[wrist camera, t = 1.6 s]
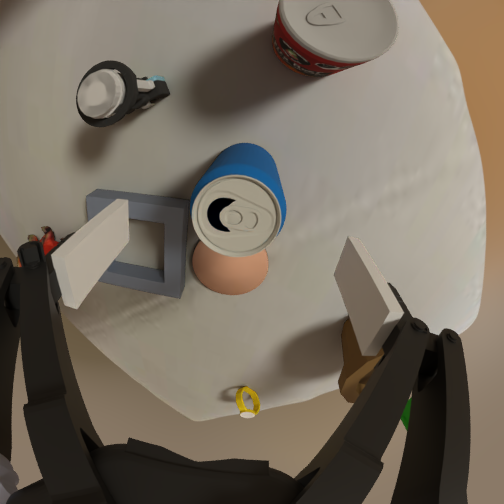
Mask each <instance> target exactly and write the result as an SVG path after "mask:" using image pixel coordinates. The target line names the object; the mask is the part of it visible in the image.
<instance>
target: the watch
mask: <svg viewBox="0 0 504 504" xmlns="http://www.w3.org/2000/svg"><path fill="white" fill-rule="evenodd" d="M243 391H245V392H247V393H248V394H250V396H251V398H252V399H253V404H254V408H253V410H250V409H247V408H246V407H245V406H244V402H243V397H242V393H243ZM236 403H237V406H238V408H239V410H240V416H241V417H244V418H252V417H254V416H255V415H256V414H257V413H258V412H259V410H260V401H259V398H258V395H257V394H256V392H255V391H253V390H252V389H250V388H249V387H248V386H246V387H242V388H240V389H238V391H237V393H236Z"/></svg>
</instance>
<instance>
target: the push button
mask: <svg viewBox="0 0 504 504" xmlns="http://www.w3.org/2000/svg"><path fill="white" fill-rule="evenodd" d="M114 69H116V70H118V71H119V72H120V73H116V72H115V71H113V70H114ZM168 95H170V92H169V89H168V87H167V84H166V82H165V80H164V77H160V76H153V77H151V78H149V79H148V78H147V77H143V78H136V75H135V74H134V73H133V71H132V70H131V69H130V68H128V67H127V66H126V65H125V64H123V63H121V62H118V61H104V62H101V63H99V64H97V65H95V66H93V67H92V68H91V69H90V70H89V71H88V72H87V73H86V74H85V75H84V77H83V78H82V80H81V82H80V84H79V87H78V90H77V96H76V104H77V109H78V112H79V114H80V116H81V118H82V119H83V120H84V121H85V122H86V123H88V124H89V125H91V126H94V127H105V126H109V125H112V124H114V123H116V122H118V121H119V120H120V119H122V118H123V117H124V116H125V115H126V114H130V113H132V112H133V111H135V109H138V108H141V109H142V108H143V109H146V108H149V107H151V106H153V105H155V103H150V100H153V99H158V98H164V97H166V96H168ZM110 114H111V115H113V116H111V117H109V118H105V117H106V116H108V115H110Z"/></svg>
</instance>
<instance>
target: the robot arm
mask: <svg viewBox="0 0 504 504" xmlns="http://www.w3.org/2000/svg"><path fill="white" fill-rule="evenodd" d="M128 242H129V215H128V200H124V199H116V200H115V201H114V202H112V203H111V204H110V205H108V206H107V207H106V208H105V209H103V210H102V211H101V212H100V213H98V214H97V215H96V216H95V217H93V218H92V219H91V220H90V221H89V222H87V223H86V224H85V225H84V226H83V227H81V228H80V229H79V230H78V231H77V232H74V233H72V234H69V235H67V236H66V237H65V238H64V239H63V240H61V242H59V243H58V244H57V246H55V247H54V248H53V249H51V250H50V251H49V252H48V253H47V254H46V255H45V254H44V249H43V245H42V243H41V242H40V241H29V242H27V243H25V244H23V245H21V246H20V247H19V249H18V251H17V252H18V256H19V260H20V263H21V267H13V264H12V261H11V259H10V258H7V257H4V258H0V504H362V502H363V501H364V499H365V498H366V496H367V495H368V493H369V492H370V490H371V488H372V487H373V485H374V483H375V482H376V480H377V478H378V477H379V475H380V473H381V471H382V469H383V463H382V462H381V457H382V455H383V453H384V452H385V450H386V448H387V446H388V444H389V442H390V440H391V438H392V436H393V434H394V432H395V429H396V427H397V425H398V423H399V421H400V418H401V416H402V414H403V411H404V409H405V407H406V404H407V402H408V399H409V397H410V394H411V391H412V398H411V407H410V416H409V423H408V430H407V436H406V442H405V448H404V452H403V457H402V462H401V466H400V470H399V474H398V478H397V482H396V486H395V489H394V493H393V496H392V500H391V504H468V502H467V493H466V489H467V481H468V473H469V460H470V406H469V405H470V404H469V391H468V381H467V373H466V365H465V359H464V352H463V347H462V342H461V339H460V337H459V336H458V334H457V333H456V332H455V331H453V330H451V329H447V328H446V329H443V330H442V332H441V333H440V334H439V335H436V334H433V333H430V332H429V328H428V326H427V325H426V324H425V323H424V322H423V321H421V320H420V319H417V318H413V317H412V316H411V314H410V312H409V310H408V309H407V307H406V305H405V303H404V302H403V300H402V298H401V297H400V295H399V293H398V292H397V290H396V289H395V288H394V287H393V286H392V285H391V284H390V283H387V282H386V280H385V279H384V277H383V275H382V274H381V272H380V270H379V269H378V267H377V266H376V264H375V262H374V261H373V259H372V258H371V256H370V255H369V253H368V251H367V250H366V248H365V247H364V245H363V244H362V242H361V241H360V239H358V238H354V237H349V236H348V238H347V240H346V243H345V246H344V249H343V251H342V254H341V257H340V260H339V262H338V265H337V267H336V270H335V273H334V276H335V279H336V282H337V284H338V287H339V290H340V292H341V295H342V298H343V300H344V303H345V306H346V309H347V312H348V314H349V317H350V320H351V323H352V326H353V329H354V332H355V335H356V338H357V341H358V344H359V347H360V350H361V353H362V356H376V355H377V353H378V352H379V351H380V349H381V348H382V349H383V351H384V355H383V356H382V357H381V359H380V360H379V361H378V363H377V364H376V365H375V367H374V369H375V370H374V371H373V373H372V375H371V377H370V378H369V380H368V382H367V383H366V385H365V387H364V388H363V390H362V392H361V393H360V395H359V397H358V398H357V400H356V401H355V403H354V404H353V406H352V407H351V409H350V410H349V412H348V413H347V415H346V416H345V418H344V419H343V421H342V422H341V423H340V425H339V427H338V428H337V429H336V431H335V432H334V433H333V435H332V436H331V437H330V439H329V440H328V441H327V443H326V444H325V445H324V446H323V448H322V449H321V450H320V451H319V453H318V454H317V455H316V456H315V458H314V459H313V460H312V461H311V462H310V464H308V466H307V467H305V468H304V469H303V470H302V471H301V472H300V473H299V474H298V475H297V476H296V477H295V478H292V477H290V476H289V475H287V474H285V473H283V472H281V471H279V470H276V469H273V468H270V467H269V461H261V460H244V459H227V460H216V461H205V462H204V461H203V462H197V461H193V460H190V459H188V458H185V457H183V456H181V455H179V454H176V453H174V452H172V451H170V450H168V449H166V448H164V447H161V446H158V445H154V444H149V443H146V442H142V441H139V440H135V439H132V438H129V439H128V442H127V444H114V445H107V446H104V445H103V443H102V441H101V440H100V438H99V436H98V435H97V433H96V431H95V429H94V427H93V425H92V422H91V420H90V417H89V415H88V412H87V409H86V407H85V404H84V401H83V399H82V396H81V392H80V390H79V386H78V383H77V380H76V377H75V373H74V370H73V366H72V363H71V359H70V355H69V351H68V347H67V343H66V338H65V334H64V329H63V324H62V318H61V313H60V307H59V304H58V300H59V298H60V297H61V296H62V298H63V301H64V305H65V306H68V307H71V308H74V309H78V307H79V306H80V305H81V303H82V302H83V300H84V299H85V297H86V296H87V295H88V293H89V292H90V291H91V289H92V288H93V286H94V285H95V284H96V282H97V281H98V280H99V278H100V277H101V276H102V275H103V273H104V272H105V271H106V269H107V268H108V267H109V266H110V264H111V263H112V262H113V260H114V259H115V258H116V257H117V255H118V254H119V253H120V252H121V251H122V249H123V248H124V247H125V246H126V244H127V243H128ZM20 338H21V352H22V361H23V371H24V378H25V385H26V391H27V396H28V404H24V407H23V410H24V417H25V421H26V426H27V430H28V434H29V437H30V441H31V445H32V448H33V451H34V454H35V457H36V460H37V463H38V466H39V469H40V472H41V474H42V477H43V479H41V480H39V481H37V482H35V483H33V484H31V485H29V486H27V487H24V488H23V489H20V490H17V487H16V485H17V484H18V482H19V478H18V475H17V473H16V472H15V471H14V470H13V467H12V465H11V464H10V461H11V449H12V434H11V433H12V431H11V416H12V393H13V381H14V371H15V363H16V357H17V351H18V345H19V339H20Z"/></svg>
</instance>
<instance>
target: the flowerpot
mask: <svg viewBox="0 0 504 504" xmlns="http://www.w3.org/2000/svg"><path fill="white" fill-rule="evenodd" d="M341 337H342V347H343V358H344V366H343V369H342V372H341V374H340V377H339V380H338V384H339V389H340V393H341V395H342V396H343V397H344V398H345V399H346V401H347V402H350V403H355V401H356V400H357V398H358V397H359V395H360V393H361V392H362V390H363V388H364V387H365V385H366V383H367V382H368V380H369V378H370V377H371V375H372V373H373V371H374V370H375V369H374V367H375V365H376V364H377V363H378V361H379V360H380V359H381V357H382V356H383V355H384V351H383V349H382V348H381V349H380V351H379V352H378V353H377V355H376V356H362V353H361V350H360V347H359V344H358V341H357V338H356V335H355V332H354V329H353V326H352V323H351V320H350V318H349V319H348V320H347V321H346V322H345V323H344V326H343V330H342V334H341ZM411 398H412V397H411ZM411 398H410V399H409V400H408V402H407V404H406V407H405V409H404V411H403V414H402V416H401V418H400V419H401V420H402V422H403V424H404V426H405V428H406V430H408V423H409V416H410V407H411Z"/></svg>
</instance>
